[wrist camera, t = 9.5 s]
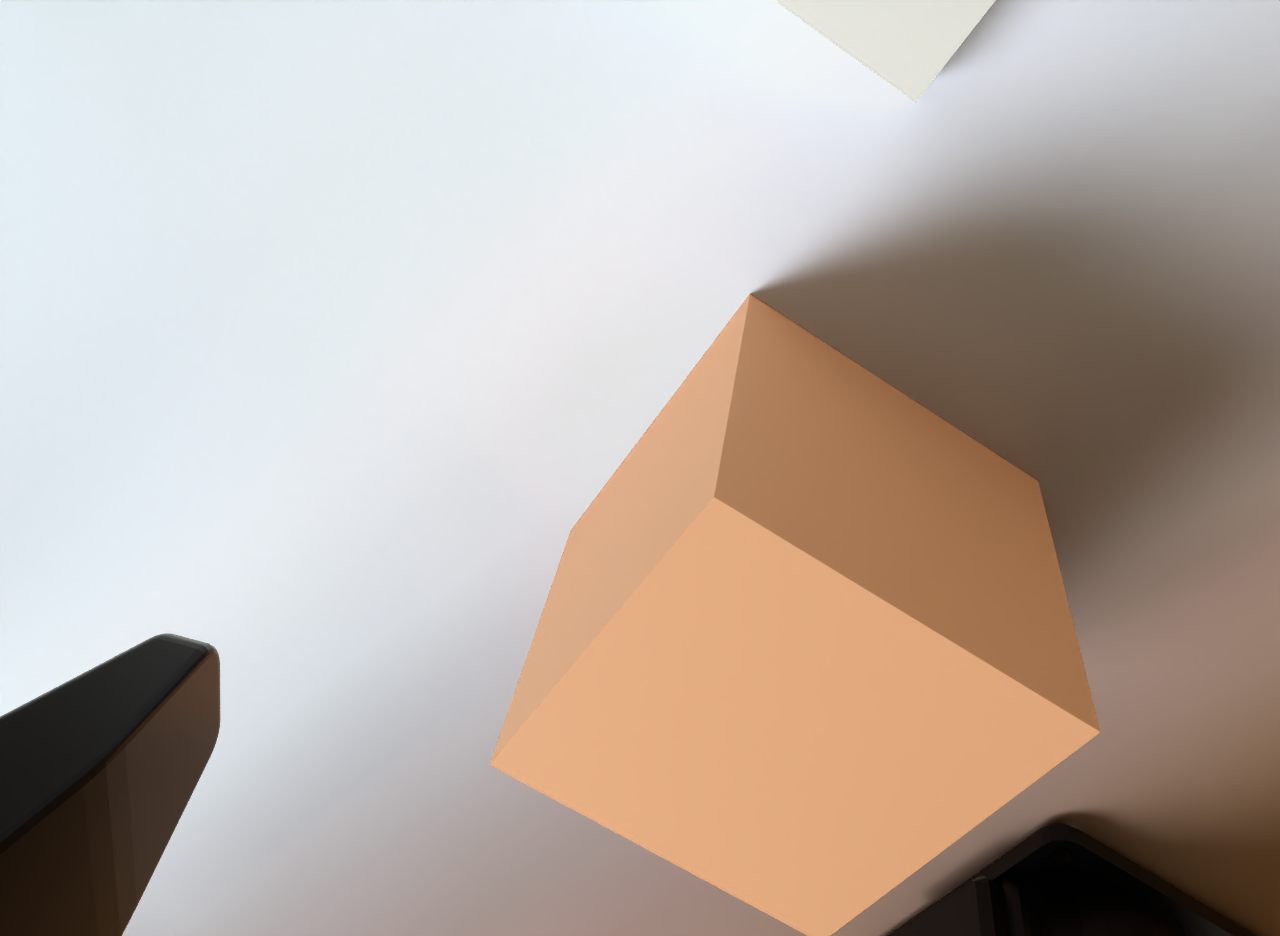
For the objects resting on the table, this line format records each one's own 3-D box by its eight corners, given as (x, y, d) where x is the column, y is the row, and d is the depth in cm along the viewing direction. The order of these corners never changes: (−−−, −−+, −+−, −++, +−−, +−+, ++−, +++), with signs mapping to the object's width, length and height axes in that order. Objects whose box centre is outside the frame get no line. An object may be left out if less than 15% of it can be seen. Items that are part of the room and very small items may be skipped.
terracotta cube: (1038, 479, 20) (1100, 732, 15) (826, 678, 23) (820, 942, 18) (750, 292, 19) (714, 497, 14) (571, 528, 22) (489, 764, 17)
